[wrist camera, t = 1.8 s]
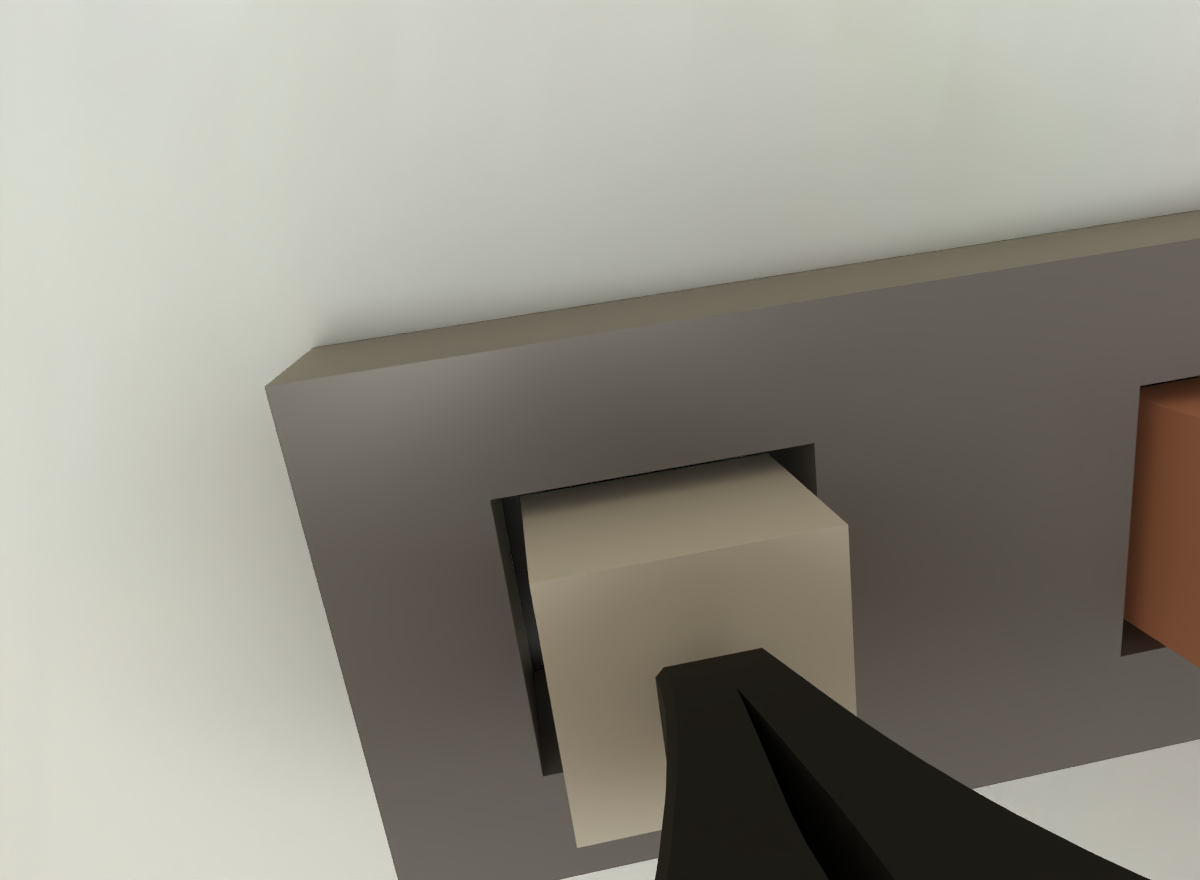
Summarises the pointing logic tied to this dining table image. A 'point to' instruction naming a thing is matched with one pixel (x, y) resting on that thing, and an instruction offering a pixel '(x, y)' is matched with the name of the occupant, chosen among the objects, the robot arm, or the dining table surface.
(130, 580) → the dining table surface
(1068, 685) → the key block
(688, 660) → the beige key
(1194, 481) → the terracotta key
